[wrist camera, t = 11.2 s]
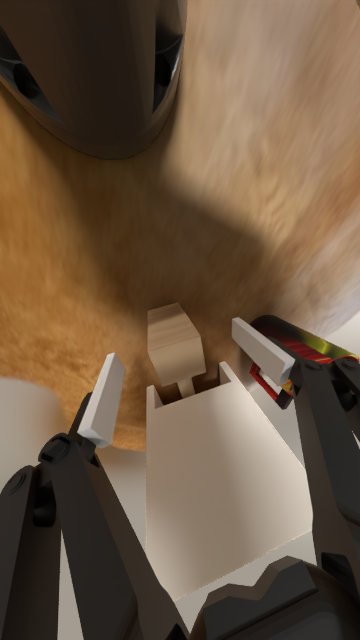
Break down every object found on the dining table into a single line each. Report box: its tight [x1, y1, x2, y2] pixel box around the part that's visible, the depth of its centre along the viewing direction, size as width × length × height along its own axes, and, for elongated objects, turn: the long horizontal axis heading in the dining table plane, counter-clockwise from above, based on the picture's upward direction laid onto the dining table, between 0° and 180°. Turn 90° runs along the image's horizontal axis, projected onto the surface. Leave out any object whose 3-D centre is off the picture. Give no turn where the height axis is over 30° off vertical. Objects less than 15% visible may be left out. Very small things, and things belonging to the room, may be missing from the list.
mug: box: [249, 315, 359, 410], centre depth 24 cm, size 10×14×12 cm
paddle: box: [148, 302, 206, 399], centre depth 22 cm, size 25×5×10 cm, turn 11°
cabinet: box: [146, 361, 313, 602], centre depth 23 cm, size 15×18×20 cm
